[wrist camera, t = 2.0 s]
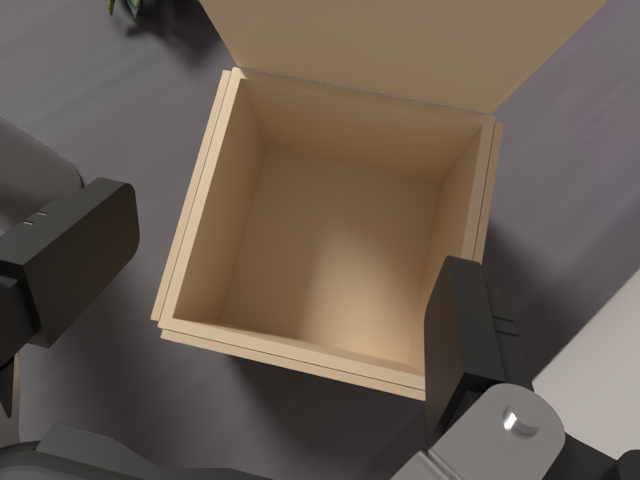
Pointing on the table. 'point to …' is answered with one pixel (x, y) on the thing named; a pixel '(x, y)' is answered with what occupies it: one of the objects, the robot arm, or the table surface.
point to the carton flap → (402, 43)
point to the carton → (325, 227)
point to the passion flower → (134, 3)
